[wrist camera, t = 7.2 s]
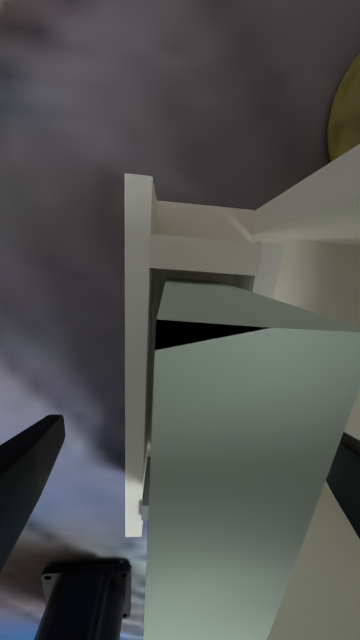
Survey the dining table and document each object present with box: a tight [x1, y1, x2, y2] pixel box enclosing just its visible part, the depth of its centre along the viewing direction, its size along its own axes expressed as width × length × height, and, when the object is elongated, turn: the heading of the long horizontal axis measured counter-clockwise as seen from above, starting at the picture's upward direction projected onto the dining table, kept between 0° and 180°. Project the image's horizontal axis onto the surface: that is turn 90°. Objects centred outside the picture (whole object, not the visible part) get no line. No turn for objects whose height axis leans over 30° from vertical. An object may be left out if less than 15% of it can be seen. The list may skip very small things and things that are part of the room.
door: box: [144, 278, 360, 640], centre depth 7 cm, size 10×2×7 cm, turn 176°
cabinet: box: [125, 144, 360, 640], centre depth 8 cm, size 16×13×7 cm
